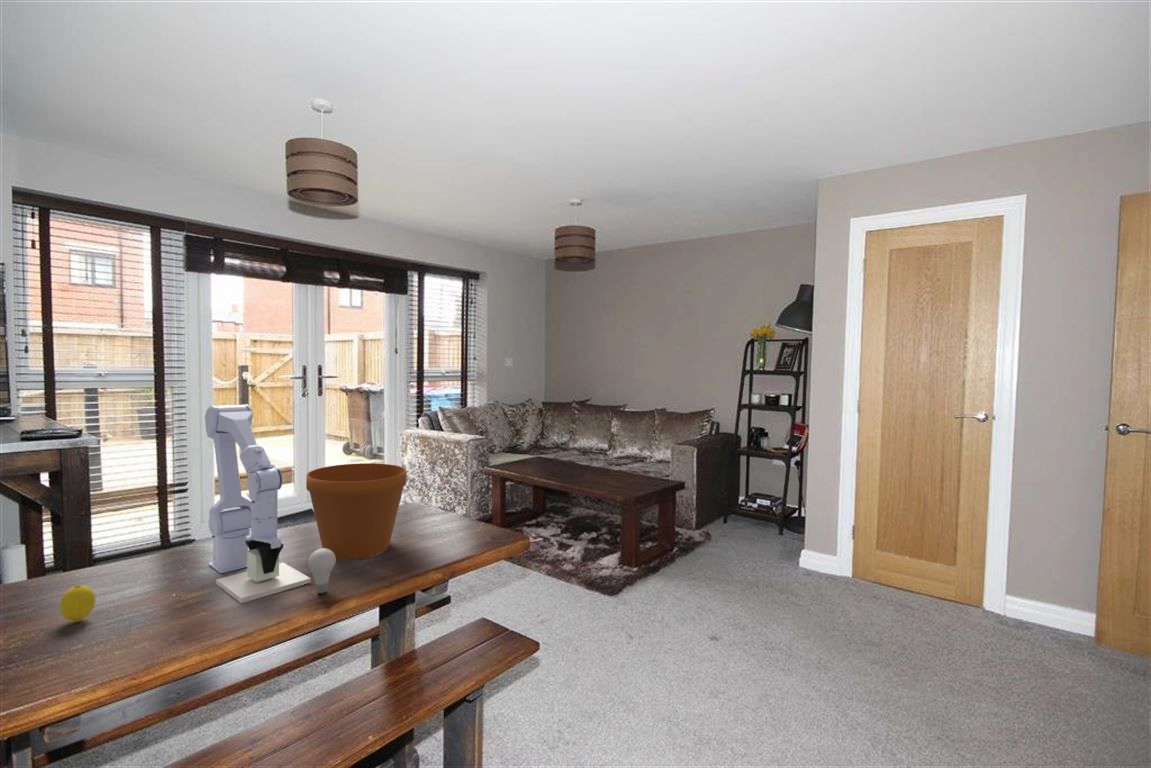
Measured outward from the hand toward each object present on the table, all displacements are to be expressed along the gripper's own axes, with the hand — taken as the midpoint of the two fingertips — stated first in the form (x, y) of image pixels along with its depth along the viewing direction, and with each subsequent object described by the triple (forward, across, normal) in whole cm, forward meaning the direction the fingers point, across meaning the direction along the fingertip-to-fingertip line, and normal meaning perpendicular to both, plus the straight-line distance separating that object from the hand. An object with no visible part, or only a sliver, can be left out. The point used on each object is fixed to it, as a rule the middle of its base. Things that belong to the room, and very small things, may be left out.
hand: (263, 569), depth 137 cm
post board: (+4, 0, 0) cm, 4 cm away
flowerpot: (+4, -7, +29) cm, 30 cm away
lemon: (+4, -7, -34) cm, 35 cm away
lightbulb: (+4, +16, +7) cm, 18 cm away
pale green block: (+2, 0, 0) cm, 2 cm away
